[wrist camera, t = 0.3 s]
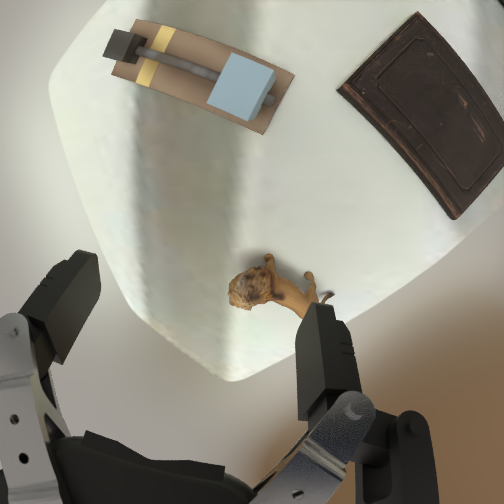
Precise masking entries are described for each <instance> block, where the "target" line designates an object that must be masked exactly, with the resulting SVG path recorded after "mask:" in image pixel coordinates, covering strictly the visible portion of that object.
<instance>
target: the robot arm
mask: <svg viewBox="0 0 504 504" xmlns="http://www.w3.org/2000/svg"><path fill="white" fill-rule="evenodd" d="M100 292H101V281H100V274H99V265H98V257H97V255H96V254H94V253H90V252H87V251H83V250H77V251H75V252H74V254H73V255H72V256H71V257H70V259H69V260H68V261H67V260H63V261H61V262H60V263H58V264H57V265H55V266H53V267H52V269H51V270H50V271H49V272H48V274H47V275H46V278H44V279H43V280H42V281H41V282H40V285H38V286H37V288H36V289H35V290H34V292H33V293H32V294H31V296H30V297H29V298H28V300H27V301H26V303H25V304H24V305H23V307H22V308H21V309H20V311H19V312H18V313H9V314H6V315H4V316H3V317H1V318H0V460H1V463H2V467H3V469H1V470H0V504H326V503H327V501H328V500H329V499H330V497H331V496H332V495H333V493H334V492H335V491H336V489H337V488H338V486H339V485H340V484H341V482H342V481H343V479H344V477H345V475H346V471H345V467H346V465H347V464H348V462H349V461H352V462H355V479H356V480H355V481H356V504H439V493H438V484H437V476H436V468H435V460H434V455H433V448H432V442H431V436H430V431H429V426H428V423H427V421H426V419H425V418H424V417H423V416H422V415H421V414H420V413H418V412H416V411H411V410H410V411H405V412H403V413H402V414H401V415H399V416H398V417H397V416H394V415H391V414H388V413H385V412H382V411H379V410H377V409H375V407H374V404H373V403H372V401H371V400H370V399H369V398H368V397H367V396H366V395H364V394H363V393H362V389H361V384H360V379H359V373H358V368H357V363H356V358H355V356H354V348H353V346H352V345H353V344H352V339H351V334H350V332H349V330H348V328H347V327H346V325H345V324H344V322H343V321H339V320H336V317H335V312H334V308H333V306H332V305H329V304H323V303H318V302H312V303H311V304H310V305H309V308H308V310H307V312H306V314H305V316H304V318H303V320H302V322H301V324H300V326H299V328H298V331H297V334H296V340H295V351H296V369H297V371H296V372H297V399H298V420H300V421H308V430H307V431H306V432H305V433H304V434H303V436H302V437H301V438H300V439H299V440H298V441H297V443H296V444H295V445H294V446H293V448H291V449H290V451H289V452H288V453H287V454H286V455H285V456H284V457H283V458H282V459H281V461H280V462H279V463H278V464H277V465H276V466H275V467H274V468H273V469H272V470H271V471H270V472H269V473H267V474H266V475H265V476H264V477H263V478H262V479H261V480H260V481H259V482H258V483H257V484H256V485H255V486H254V487H253V488H251V487H249V486H248V485H247V484H245V483H244V482H243V481H241V480H239V479H238V478H236V477H234V476H232V475H230V474H227V473H225V472H224V471H225V466H221V465H214V464H208V463H202V462H197V461H191V460H151V459H148V458H145V457H144V456H142V455H140V454H139V453H137V452H135V451H133V450H131V449H130V448H128V447H126V446H124V445H123V444H121V443H119V442H118V441H115V440H112V439H109V438H106V437H103V436H101V435H98V434H95V433H92V432H90V431H87V430H86V432H85V434H84V437H83V436H73V437H71V435H70V432H69V429H68V427H67V425H66V423H65V421H64V419H63V417H62V414H61V411H60V407H59V404H58V400H57V396H56V392H55V388H54V383H53V379H52V374H51V370H50V368H49V367H50V365H51V364H52V362H53V361H54V362H57V363H59V364H61V365H63V363H64V361H65V359H66V357H67V355H68V353H69V351H70V349H71V348H72V346H73V344H74V342H75V340H76V338H77V336H78V334H79V333H80V331H81V329H82V327H83V325H84V323H85V322H86V320H87V318H88V316H89V315H90V313H91V311H92V309H93V308H94V306H95V304H96V303H97V301H98V299H99V296H100Z"/></svg>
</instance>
